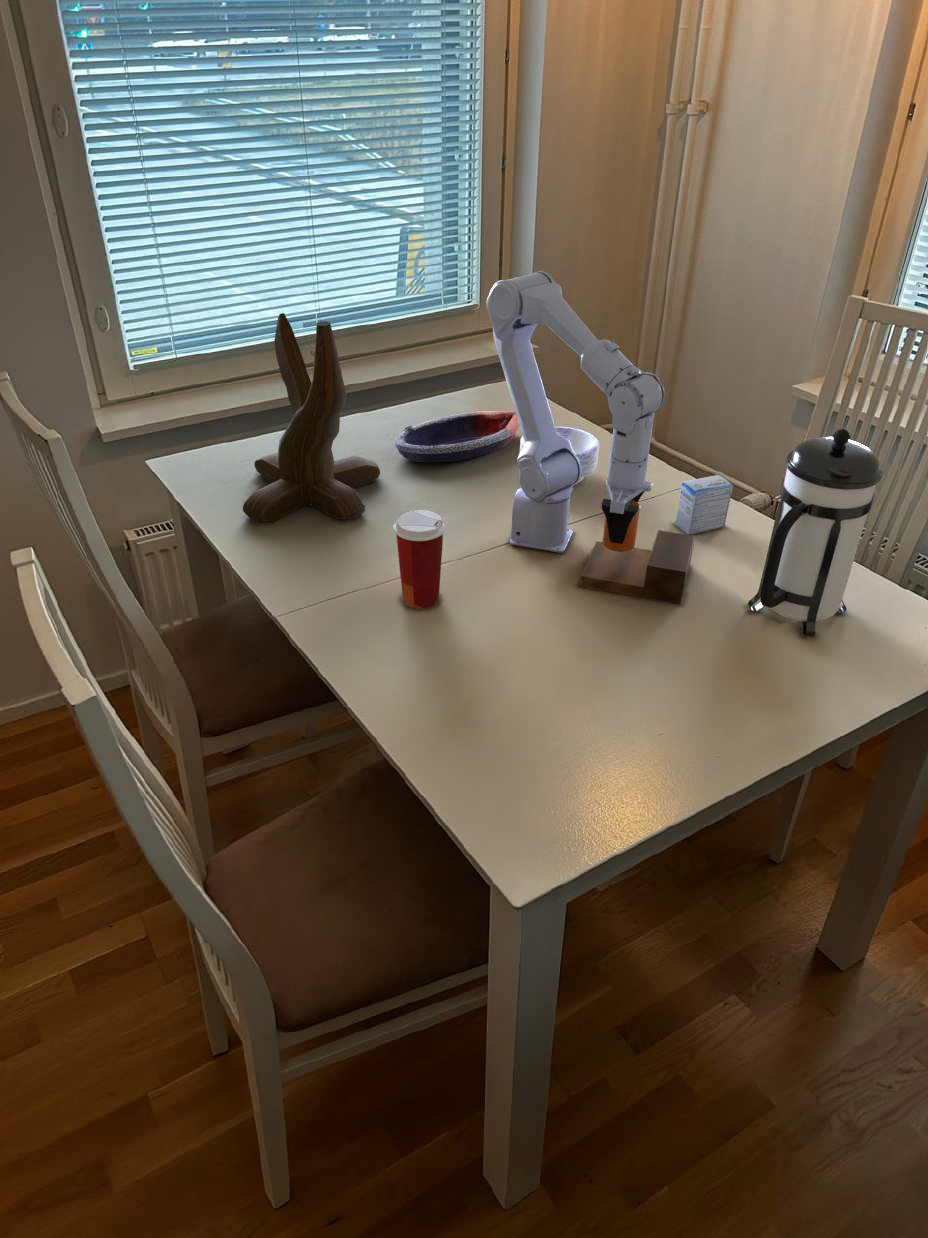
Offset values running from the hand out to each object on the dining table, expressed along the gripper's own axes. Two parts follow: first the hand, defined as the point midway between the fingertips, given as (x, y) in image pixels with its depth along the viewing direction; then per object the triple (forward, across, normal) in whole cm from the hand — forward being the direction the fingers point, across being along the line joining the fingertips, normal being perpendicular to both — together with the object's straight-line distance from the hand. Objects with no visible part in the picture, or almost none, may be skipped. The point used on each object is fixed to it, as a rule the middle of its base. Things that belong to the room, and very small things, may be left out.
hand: (619, 533), depth 147 cm
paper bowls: (+8, +32, +18) cm, 37 cm away
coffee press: (+8, -3, -28) cm, 30 cm away
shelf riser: (+7, 0, -4) cm, 8 cm away
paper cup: (+8, -18, +28) cm, 34 cm away
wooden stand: (+8, +10, +60) cm, 61 cm away
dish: (+8, +39, +40) cm, 56 cm away
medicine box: (+8, +21, -12) cm, 25 cm away
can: (+2, 0, 0) cm, 2 cm away
